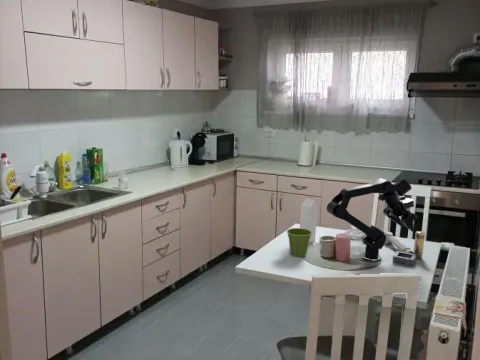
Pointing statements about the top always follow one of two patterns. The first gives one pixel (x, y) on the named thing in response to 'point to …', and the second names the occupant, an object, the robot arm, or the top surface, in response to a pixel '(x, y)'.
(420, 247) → the disc
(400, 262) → the collar
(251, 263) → the top surface
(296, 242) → the plant pot
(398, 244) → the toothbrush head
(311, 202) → the milk
